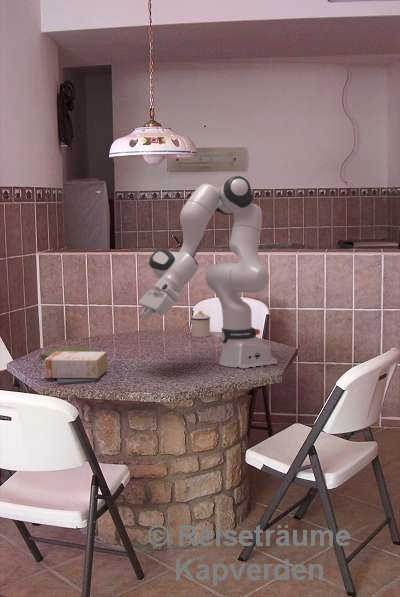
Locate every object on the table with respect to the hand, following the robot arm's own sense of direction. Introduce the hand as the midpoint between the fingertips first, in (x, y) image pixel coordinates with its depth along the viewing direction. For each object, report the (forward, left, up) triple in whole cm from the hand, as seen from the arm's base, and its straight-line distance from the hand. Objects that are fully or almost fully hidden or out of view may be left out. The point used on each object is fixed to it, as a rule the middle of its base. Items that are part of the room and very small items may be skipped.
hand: (141, 319), depth 268 cm
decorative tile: (+22, -38, -21) cm, 49 cm away
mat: (+25, -2, -21) cm, 32 cm away
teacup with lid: (-39, -69, -21) cm, 82 cm away
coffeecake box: (+14, -2, -16) cm, 22 cm away
